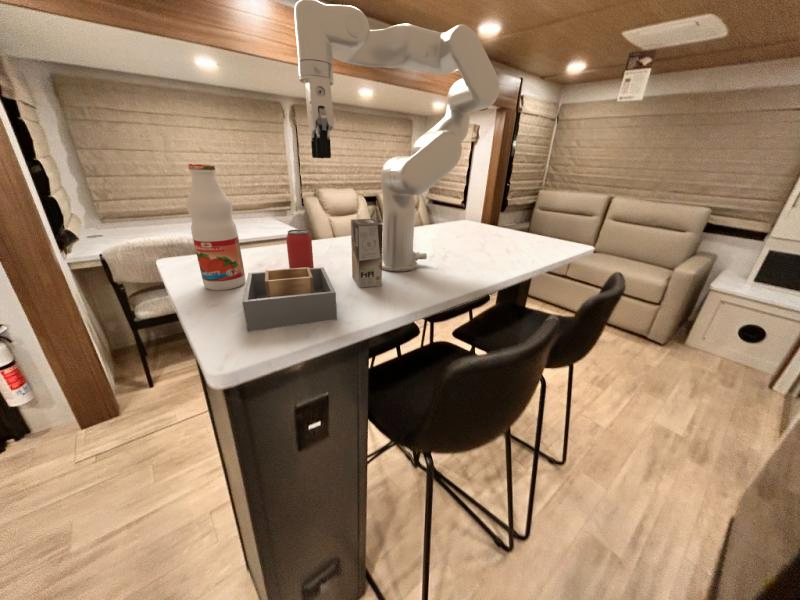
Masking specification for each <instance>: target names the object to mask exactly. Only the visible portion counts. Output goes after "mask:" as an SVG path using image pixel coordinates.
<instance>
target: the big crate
mask: <svg viewBox="0 0 800 600" xmlns="http://www.w3.org/2000/svg"><path fill="white" fill-rule="evenodd" d="M309 269H310V271H311V274H312V277H313V286H314V293H310V294H300V295H290V296H280V297H270V298H267V291H266V285H265V271H257V272H254V271H253V272H248V273H247V278H246V281H245V287H244V293H243V298H242V307H243V312H244V318H245V322H246V323H245V324H246V329H247V332H253V331H260V330H262V331H263V330H268V329H275V328H276V329H277V328H284V327H291V326H298V325H306V324H307V325H308V324H313V323H314V324H315V323H320V322H321V323H322V322H329V321H335V320H338V315H337V314H338V311H337V293H336V290H335V288H334V286H333V284H332V281H331V280H330V277H329V276H328V273H327V272H326V269H325V268H324V267H314V268H309Z"/></svg>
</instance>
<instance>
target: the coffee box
mask: <svg viewBox="0 0 800 600" xmlns="http://www.w3.org/2000/svg"><path fill="white" fill-rule="evenodd" d="M350 237H351V238H350V240H351V241H350V243H351V268H352V270H351V273H352V279H353V280H354V282H355V283H356V284H357V286H358V287H359V288H360V289H361V288H370V287H371V288H372V287H381V286H382V283H383V269H382V243H383V223H380V222H378V221H377V220H375V219H373V218H360V219H359V218H358V219H350Z"/></svg>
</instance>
